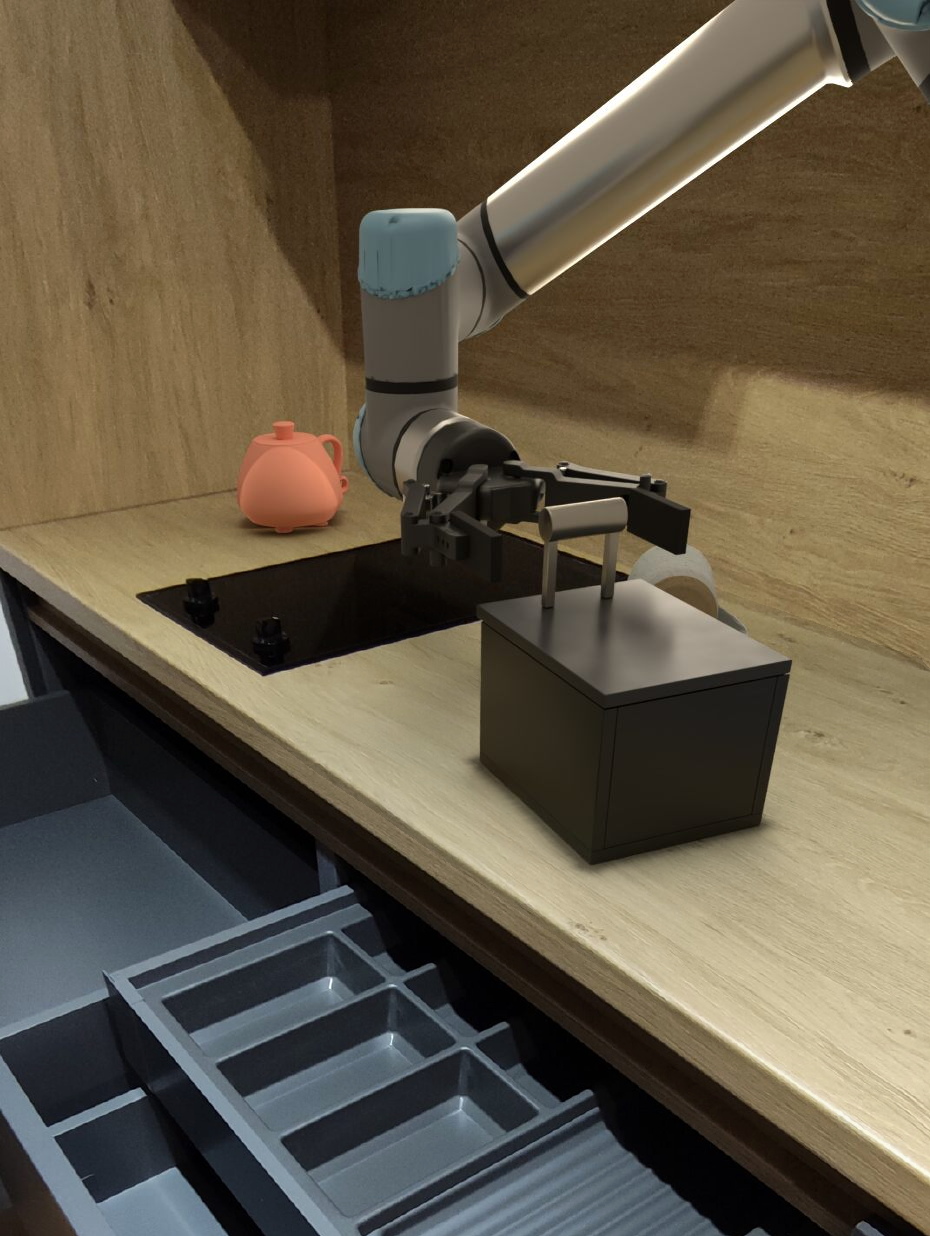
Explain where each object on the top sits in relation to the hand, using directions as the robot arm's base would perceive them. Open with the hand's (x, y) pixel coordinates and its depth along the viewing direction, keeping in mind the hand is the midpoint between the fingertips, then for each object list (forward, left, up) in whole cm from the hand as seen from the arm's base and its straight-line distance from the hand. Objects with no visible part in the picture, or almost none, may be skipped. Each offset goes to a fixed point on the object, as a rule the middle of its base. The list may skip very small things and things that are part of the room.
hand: (592, 545), depth 71 cm
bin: (-5, +2, -15) cm, 15 cm away
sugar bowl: (+67, -26, -15) cm, 74 cm away
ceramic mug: (+9, -24, -15) cm, 30 cm away
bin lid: (-4, +2, -5) cm, 7 cm away
